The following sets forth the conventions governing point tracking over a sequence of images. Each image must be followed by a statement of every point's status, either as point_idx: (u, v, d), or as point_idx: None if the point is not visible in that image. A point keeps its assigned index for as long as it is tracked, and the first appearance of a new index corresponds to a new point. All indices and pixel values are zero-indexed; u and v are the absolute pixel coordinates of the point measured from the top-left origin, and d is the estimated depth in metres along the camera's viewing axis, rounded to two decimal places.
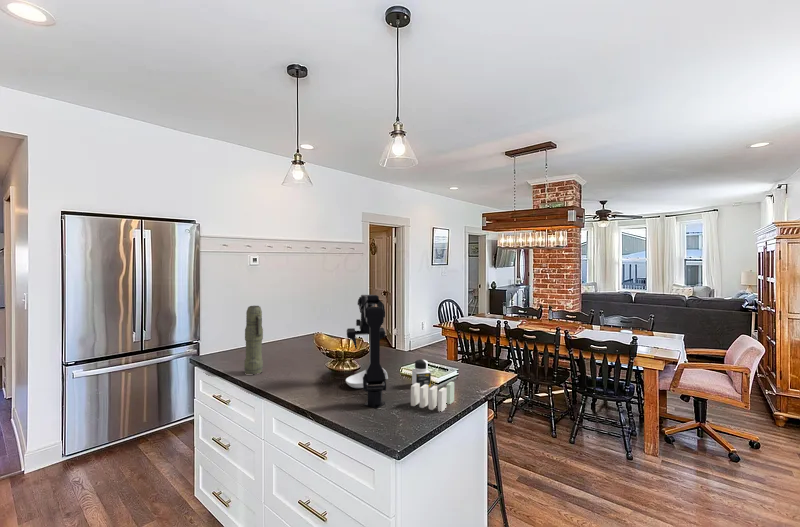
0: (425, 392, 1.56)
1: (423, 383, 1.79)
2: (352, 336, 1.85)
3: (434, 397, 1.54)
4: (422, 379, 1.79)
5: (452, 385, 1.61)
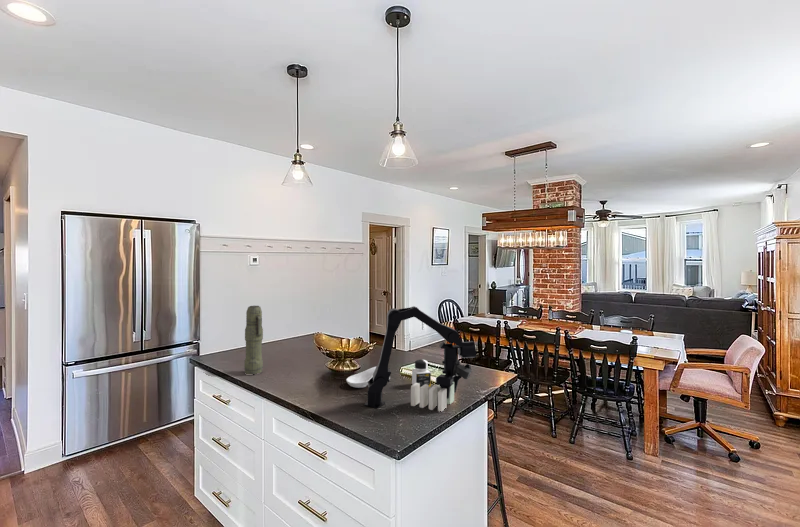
0: (425, 392, 1.56)
1: (423, 383, 1.79)
2: None
3: (434, 397, 1.54)
4: (422, 379, 1.79)
5: (452, 385, 1.61)
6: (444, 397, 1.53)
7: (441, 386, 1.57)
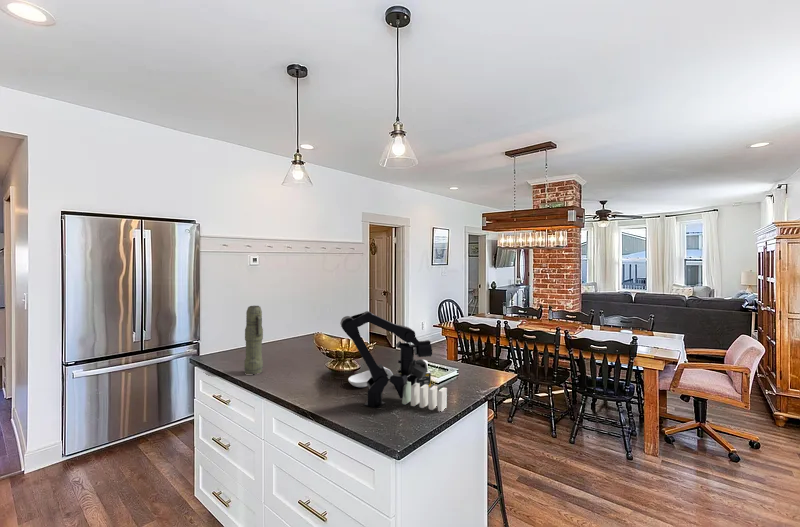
0: (425, 392, 1.56)
1: (423, 383, 1.79)
2: None
3: (434, 397, 1.54)
4: (422, 379, 1.79)
5: (408, 385, 1.61)
6: (444, 397, 1.53)
7: (395, 386, 1.56)
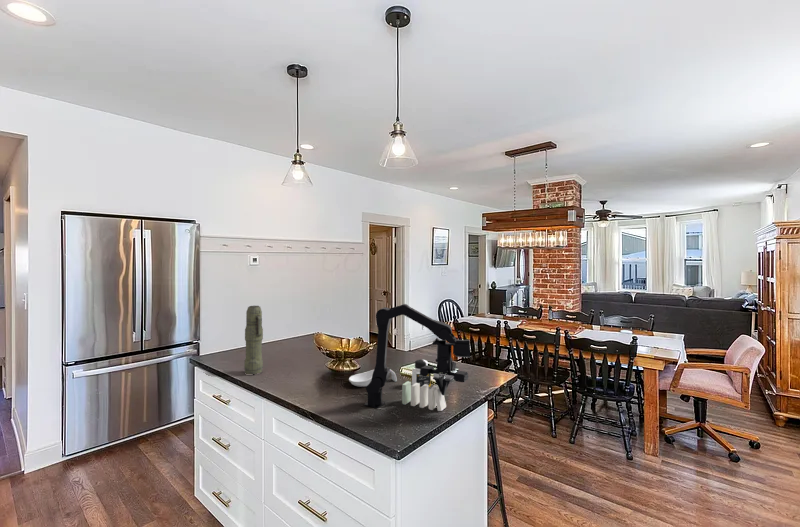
0: (425, 392, 1.56)
1: (423, 383, 1.79)
2: (424, 373, 1.54)
3: (434, 397, 1.54)
4: (422, 379, 1.79)
5: (408, 385, 1.61)
6: (441, 395, 1.54)
7: None
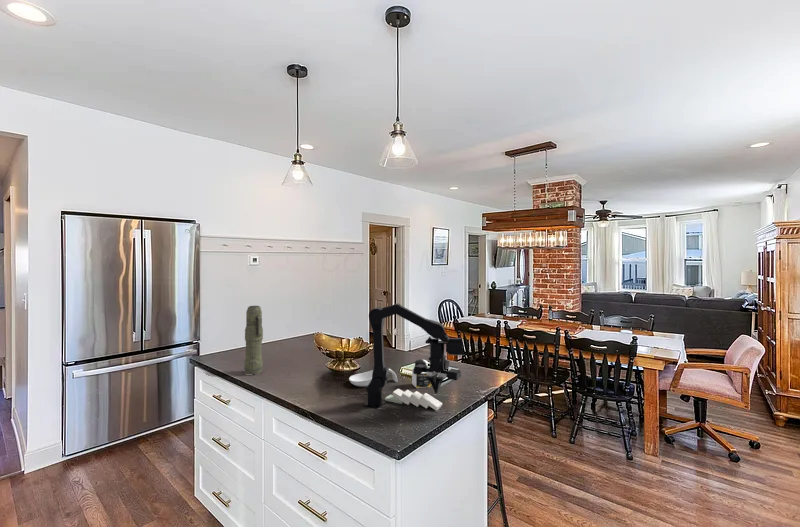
0: (408, 394, 1.59)
1: (423, 383, 1.79)
2: (418, 372, 1.55)
3: None
4: (422, 379, 1.79)
5: (389, 396, 1.65)
6: (429, 398, 1.56)
7: (439, 382, 1.52)
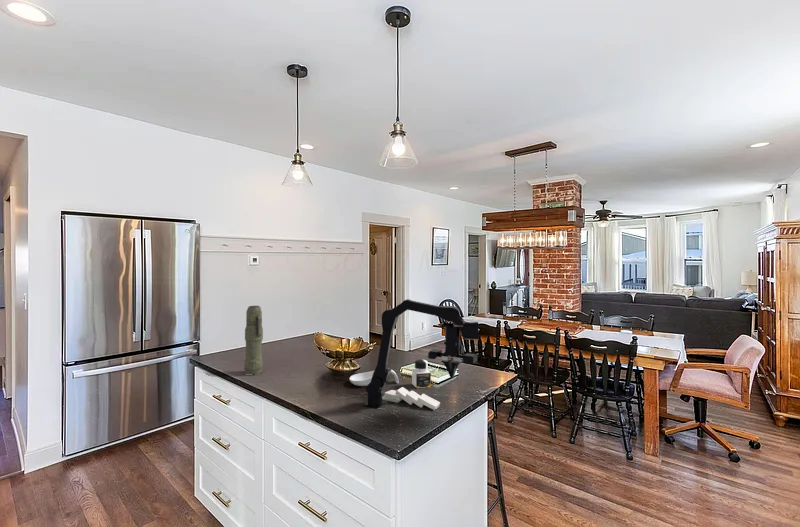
0: (402, 392, 1.61)
1: (423, 383, 1.79)
2: (433, 356, 1.52)
3: (416, 397, 1.58)
4: (422, 379, 1.79)
5: None
6: (427, 398, 1.56)
7: (455, 366, 1.49)
